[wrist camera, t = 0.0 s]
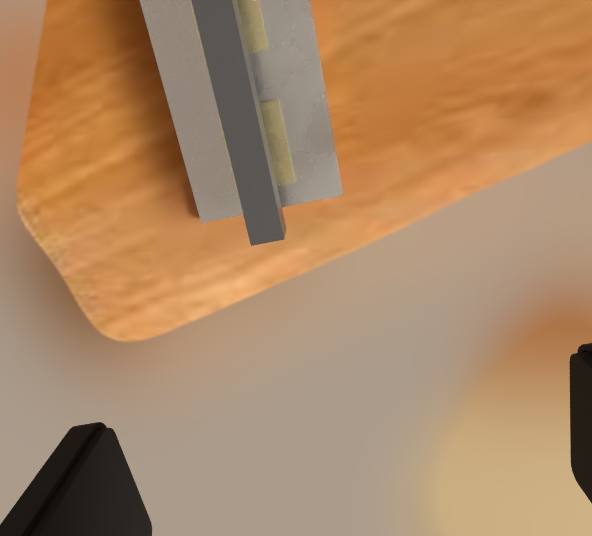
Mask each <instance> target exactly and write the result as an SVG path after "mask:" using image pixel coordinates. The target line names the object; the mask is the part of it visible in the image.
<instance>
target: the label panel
mask: <svg viewBox="0 0 592 536" xmlns="http://www.w3.org/2000/svg"><path fill="white" fill-rule="evenodd" d="M237 3H238V7H239V12H240V17H241V21H242V26H243V30H244V35H245V40H246V44H247V49H248V54H249V58H250V63H251V68H252V72H253V77H254V81H255V86H256V91H257V95H258V100H259V105H260V109H261V114H262V119H263V123H264V128H265V133H266V137H267V142H268V146H269V151H270V156H271V160H272V165H273V170H274V174H275V179H276V184H277V188H278V193H279V197H280V202H281V207H286V206H291V205H296V204H301V203H306V202H312V201H317V200H322V199H327V198H332V197H337V196H342V195H343V191H342V185H341V180H340V174H339V168H338V162H337V156H336V150H335V144H334V138H333V132H332V127H331V121H330V115H329V109H328V103H327V97H326V91H325V85H324V79H323V74H322V68H321V62H320V56H319V50H318V44H317V38H316V32H315V26H314V21H313V15H312V9H311V3H310V0H237ZM140 4H141V7H142V11H143V14H144V18H145V22H146V25H147V29H148V33H149V36H150V40H151V43H152V47H153V51H154V54H155V58H156V61H157V65H158V69H159V72H160V76H161V80H162V83H163V87H164V90H165V94H166V98H167V101H168V105H169V109H170V112H171V116H172V119H173V123H174V127H175V130H176V134H177V137H178V141H179V145H180V148H181V152H182V156H183V159H184V163H185V166H186V170H187V174H188V177H189V181H190V184H191V188H192V192H193V195H194V199H195V203H196V206H197V210H198V213H199V217H200V221H201V223H204V222H209V221H214V220H219V219H224V218H230V217H235V216H240V215H243V210H242V206H241V202H240V198H239V194H238V190H237V186H236V182H235V178H234V174H233V170H232V165H231V161H230V157H229V153H228V149H227V145H226V141H225V137H224V133H223V129H222V125H221V120H220V116H219V112H218V108H217V104H216V100H215V96H214V92H213V88H212V84H211V79H210V75H209V71H208V67H207V63H206V59H205V55H204V51H203V47H202V43H201V39H200V34H199V30H198V26H197V22H196V18H195V14H194V10H193V6H192V2H191V0H140Z"/></svg>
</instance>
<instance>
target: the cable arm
mask: <svg viewBox="0 0 592 536" xmlns="http://www.w3.org/2000/svg"><path fill="white" fill-rule="evenodd" d="M191 2H192V6H193V10H194V14H195V18H196V22H197V26H198V30H199V34H200V39H201V43H202V47H203V51H204V55H205V59H206V63H207V67H208V71H209V75H210V79H211V84H212V88H213V92H214V96H215V100H216V104H217V108H218V112H219V116H220V120H221V125H222V129H223V133H224V137H225V141H226V145H227V149H228V153H229V157H230V161H231V165H232V170H233V174H234V178H235V182H236V186H237V190H238V194H239V198H240V202H241V206H242V210H243V215H244V219H245V223H246V227H247V231H248V235H249V239H250V243H251V246H252V245H257V244H263V243H268V242H273V241H278V240H284V238H285V232H286V225H285V221H284V216H283V211H282V207H281V202H280V197H279V193H278V188H277V184H276V179H275V174H274V170H273V165H272V160H271V156H270V151H269V146H268V142H267V137H266V133H265V128H264V123H263V119H262V114H261V109H260V105H259V100H258V95H257V91H256V86H255V81H254V77H253V72H252V68H251V63H250V58H249V54H248V49H247V44H246V40H245V35H244V30H243V26H242V21H241V17H240V12H239V7H238V3H237V0H191Z"/></svg>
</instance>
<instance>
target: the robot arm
mask: <svg viewBox="0 0 592 536" xmlns="http://www.w3.org/2000/svg"><path fill="white" fill-rule="evenodd" d="M570 427H571V428H570V429H571V430H570V431H571V467H572V471H573V474H574V477H575V479H576V481H577V483H578V484H579V486H580V487H581V489H582V490H583V492H584V493H585V494H586V496H587V497H588V499H589V500H590V501H591V503H592V343H590V344H583V345H581V346H580V347H579V349H578V353H576V354H572V355H571V357H570ZM0 536H152V525H151V521H150V518H149V516H148V514H147V511H146V508H145V506H144V504H143V501H142V499H141V496H140V494H139V491H138V489H137V486H136V484H135V481H134V479H133V476H132V474H131V471H130V469H129V466H128V464H127V461H126V459H125V456H124V454H123V451H122V449H121V446H120V444H119V441H118V439H117V436H116V434H115V432H114V430H113V429H112V428H107V427H106V425H104V424H103V423H101V422H98V423H91V424H85V425H79V426H74V427H72V428H71V429H70V430H69V431H68V433H67V434H66V435H65V437H64V438H63V439H62V441H61V442H60V443H59V445H58V446H57V448H56V449H55V450H54V452H53V453H52V455H51V456H50V457H49V459H48V460H47V461H46V463H45V464H44V465H43V467H42V468H41V470H40V471H39V473H38V474H37V475H36V476H35V478H34V479H33V481H32V482H31V483H30V485H29V486H28V487H27V489H26V490H25V492H24V493H23V494H22V496H21V497H20V499H19V500H18V501H17V503H16V504H15V505H14V507H13V508H12V510H11V511H10V512H9V514H8V515H7V516H6V518H5V519H4V520H3V522H2V523H1V525H0Z"/></svg>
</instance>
